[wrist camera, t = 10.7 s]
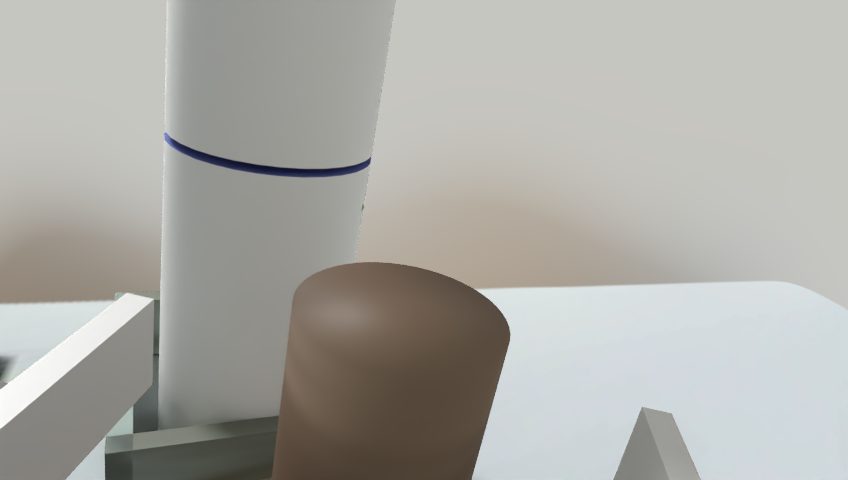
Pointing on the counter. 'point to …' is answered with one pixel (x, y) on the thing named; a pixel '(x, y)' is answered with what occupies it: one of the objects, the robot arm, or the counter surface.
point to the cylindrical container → (257, 186)
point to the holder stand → (350, 388)
